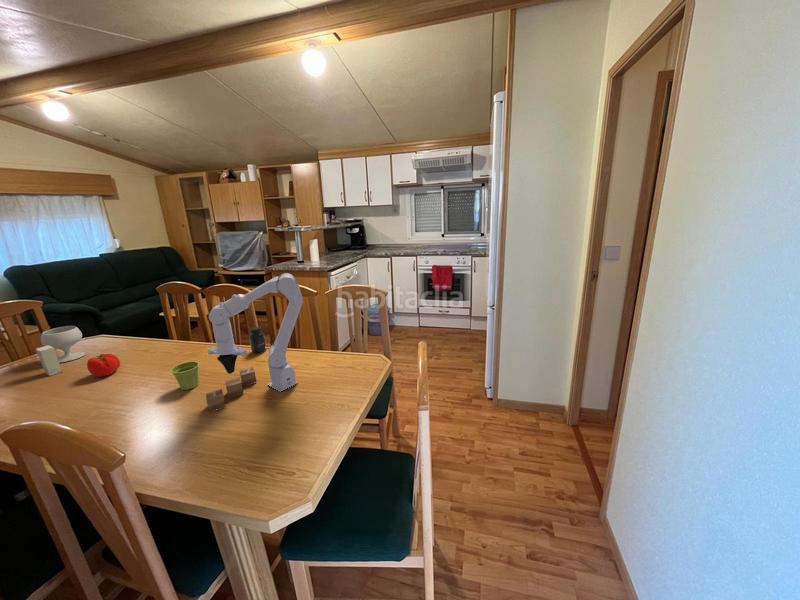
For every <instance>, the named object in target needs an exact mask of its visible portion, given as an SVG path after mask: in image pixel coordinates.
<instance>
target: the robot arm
mask: <svg viewBox="0 0 800 600" xmlns="http://www.w3.org/2000/svg"><path fill="white" fill-rule="evenodd" d="M279 292H280V294H282V295H284V296H285V297H286V299H287V300H288V304H287V308H286V311H285V312H284V315H283V317H282V318H283V319H282V320H281V324H280V326H279V329H278V332H277V336H276V337H275V339H274V342H273V344H272V345H271V346H270V347H269V349H268V358H267V363H268V370H269V376H270V382H269V383H267V386H268V385H269V384H270V385H269V386H270V388H271V387H272V388H271V389H273V388H274V390H275V389H276V390H275V391H277V390H278V391H277V392H279V391H280V392H279V393H282V392H281V391H283V390H285V389H287V388H288V389H290V388H292V387H294V386H295V385H294V384H296V382H297V381H296V374H295V370H294V368H293V367H292V366H291V365H290V364H289V363H290V362H289V360H288V358H287V357H286V356H287V355H286V353H287V351H288V347H289V342H290V340H291V336H292V334H293V331H294V328H295V325H296V323H297V319H298V317H299V314H300V312H301V308H302V305H303V302H304V299H303V295H302V292H301V288H300V286H299V282H298V281H297V279H296V277H295V276H294V275H293V274H291V273H288V272H284V273H282V274H280V275H279V276H274V277H273V278H271V279H270V280H267V281H266V282H264V283H262V284H260V285H259V286H257V287H256V288H254V289H252V290H251V291H248V293H246V294H242V293H238V294H233V295H232V296H231V298H229V299H228V300H226V301H224V302H223V301H221V302H220V303H218V305H215V306H214V307H212V309H211V310H210V312H209V313H208V319H209V321H210V322H211V323H212V330H213V334H214V339H215V344H216V347H210V348H208V349H207V354H208V356H209V355H210V356H211V355H219V356H218V357H217V361H219V362H220V363H221V365H222V366H223V367H224V369H225V371H226V373H227V374H229V375H230V374H232V373H235V370H236V369H235V368H236V362H237V359H238V356H241V357H245V356H246V355H247V349H246V348H241V347H238V346H237V345H236V344H235V340H234V334H233V329H232V328H233V327H232V325H231V321H230V318H231V317H234V316H235V315H238V314H240V313H241V312H243V311H245V310H247V309H248V308H249V307H250V304H251V302H253V301H255V300H257V299H260V298H262V297H263V296H265V295H267V294H269V293H272V294H279ZM293 385H294V386H293ZM296 385H297V384H296ZM269 386H268V387H269ZM291 386H292V387H291ZM289 387H290V388H289ZM288 389H287V390H288ZM285 391H286V390H285ZM283 392H284V391H283Z"/></svg>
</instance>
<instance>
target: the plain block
mask: <svg viewBox="0 0 800 600" xmlns="http://www.w3.org/2000/svg"><path fill="white" fill-rule="evenodd" d="M224 383H225V388H226V393H227V398H228V399H231V398H230V397H233V398H235V397H234V396H236V397H238V396H237V395H239V396H242V395H241V394H243V395H244V391H243V384H242V381H241V376H240V377H236V378H231V379H227V380H225V381H224Z"/></svg>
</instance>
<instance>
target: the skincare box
mask: <svg viewBox="0 0 800 600" xmlns="http://www.w3.org/2000/svg"><path fill="white" fill-rule="evenodd" d="M35 351H36V354H37V355H38V358H39V360H40V363H41V365H42V368H43V370H44V373H45V374H46V375H47V376H53V375H54V376H55V375H57V374H60V373H63V369H62V366H61V363H59V361H58V358H57V357H58V355H57V353H56V351H55V349H54V348H53V347H52V346H50V345H48V346H41V347H37V348H35Z"/></svg>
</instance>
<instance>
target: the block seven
mask: <svg viewBox="0 0 800 600" xmlns="http://www.w3.org/2000/svg"><path fill="white" fill-rule="evenodd" d="M239 374H240V375H239V376H240V380H241V384H242V387H246V386H245V385H247V384H250V385H252V384H251V383H254V382H257V378H256V371H255V369H254V367H253V366H250V367H247V368H243V369H240V370H239ZM254 384H255V383H254ZM247 386H248V385H247Z"/></svg>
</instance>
